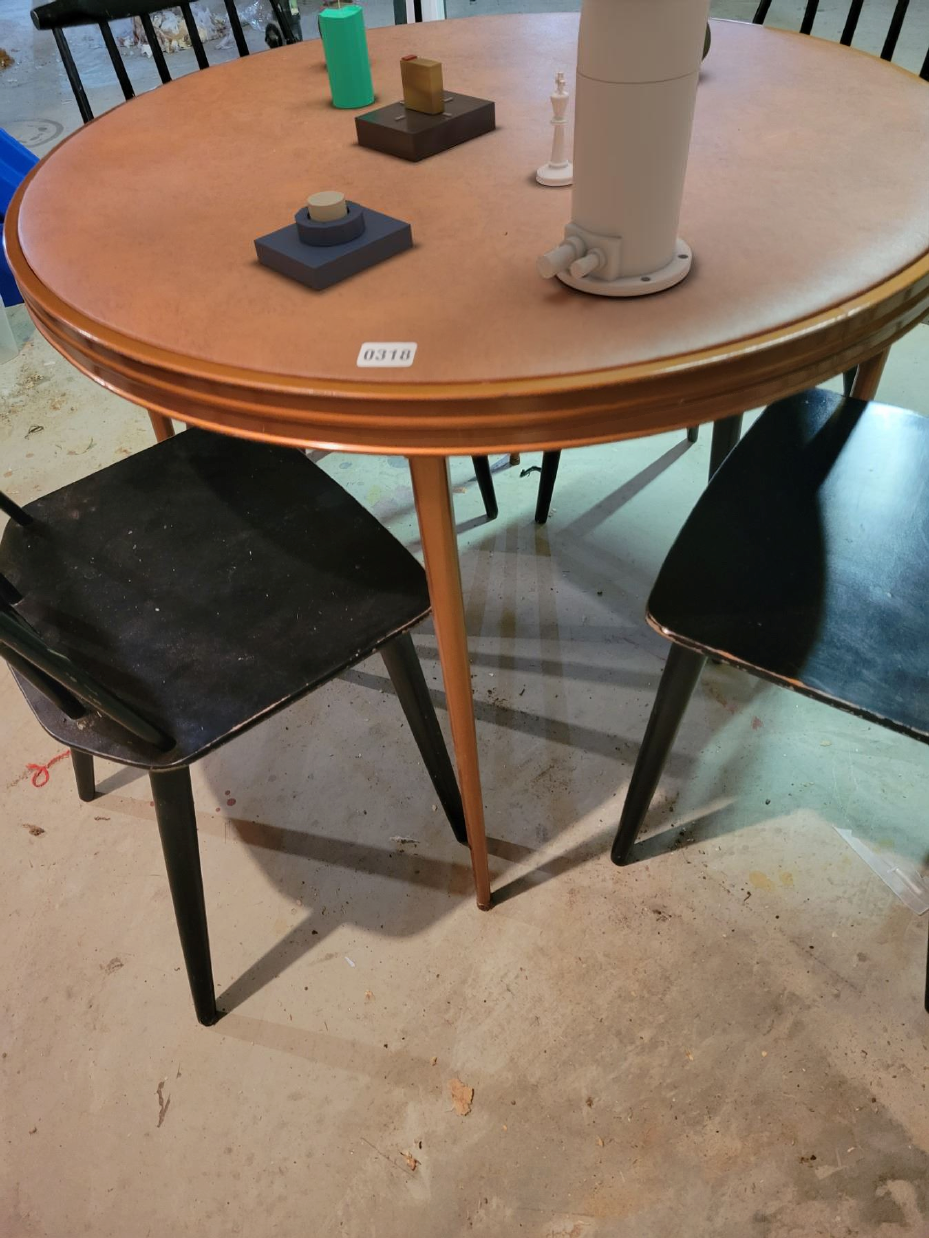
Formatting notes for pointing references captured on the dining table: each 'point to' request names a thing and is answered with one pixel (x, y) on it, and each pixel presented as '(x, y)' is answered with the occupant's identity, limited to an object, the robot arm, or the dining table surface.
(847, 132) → the dining table surface
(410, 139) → the plate
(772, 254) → the dining table surface
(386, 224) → the button base
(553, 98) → the chess piece
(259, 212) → the dining table surface
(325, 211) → the bell button
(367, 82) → the candle
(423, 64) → the lock knob
